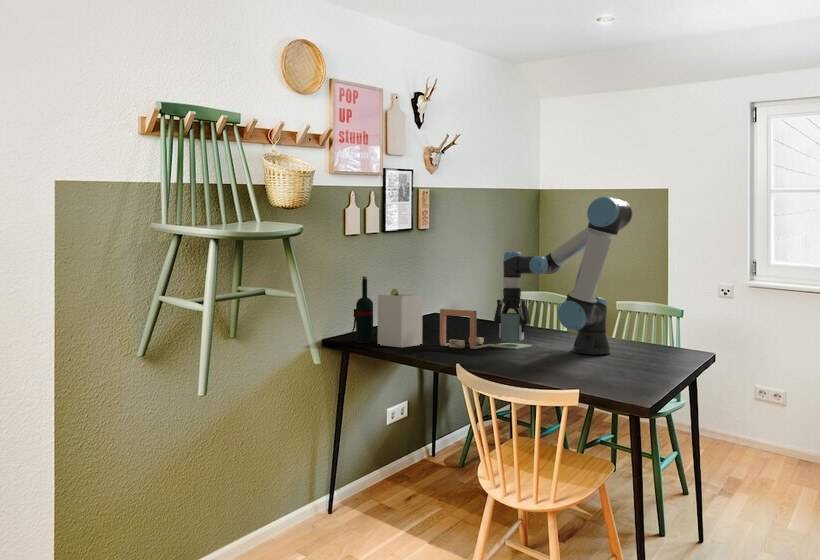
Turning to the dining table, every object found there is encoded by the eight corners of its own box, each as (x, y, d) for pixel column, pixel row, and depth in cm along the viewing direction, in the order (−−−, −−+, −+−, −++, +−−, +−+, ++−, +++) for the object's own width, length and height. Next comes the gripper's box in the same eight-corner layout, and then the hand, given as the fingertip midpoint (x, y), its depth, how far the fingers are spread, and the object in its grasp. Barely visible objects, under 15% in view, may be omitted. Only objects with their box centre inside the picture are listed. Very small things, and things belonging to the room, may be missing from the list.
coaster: (532, 346, 281) (532, 344, 281) (516, 349, 271) (516, 347, 271) (506, 343, 289) (506, 342, 289) (490, 346, 279) (490, 345, 279)
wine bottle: (355, 341, 296) (355, 276, 296) (375, 342, 293) (376, 276, 292) (348, 343, 289) (348, 276, 288) (369, 344, 286) (369, 276, 285)
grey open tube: (495, 340, 280) (495, 313, 280) (509, 339, 288) (509, 312, 287) (515, 342, 273) (515, 314, 273) (528, 341, 281) (528, 313, 280)
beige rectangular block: (483, 344, 287) (483, 337, 287) (460, 348, 274) (460, 341, 274) (472, 343, 291) (472, 336, 291) (449, 346, 277) (449, 339, 277)
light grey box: (422, 344, 286) (422, 295, 285) (401, 347, 275) (401, 295, 274) (398, 342, 295) (398, 294, 294) (377, 344, 284) (377, 294, 284)
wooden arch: (476, 346, 272) (476, 310, 272) (473, 346, 270) (473, 311, 270) (442, 343, 284) (442, 308, 283) (439, 343, 282) (439, 309, 282)
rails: (494, 345, 282) (494, 344, 282) (474, 348, 271) (474, 347, 271) (460, 342, 294) (460, 341, 294) (440, 345, 283) (440, 344, 283)
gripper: (538, 287, 275) (538, 340, 276) (495, 286, 290) (494, 336, 290) (529, 288, 270) (529, 341, 270) (485, 286, 284) (485, 337, 284)
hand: (511, 338), depth 280 cm, fingers closed on grey open tube, 9 cm apart
